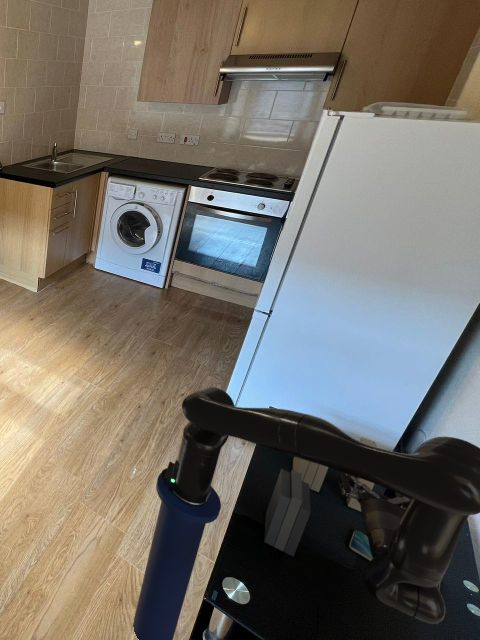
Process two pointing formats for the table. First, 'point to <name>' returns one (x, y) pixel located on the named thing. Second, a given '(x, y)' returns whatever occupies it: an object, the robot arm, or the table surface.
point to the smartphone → (363, 546)
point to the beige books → (310, 472)
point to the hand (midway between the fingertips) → (374, 480)
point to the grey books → (287, 512)
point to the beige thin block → (361, 480)
